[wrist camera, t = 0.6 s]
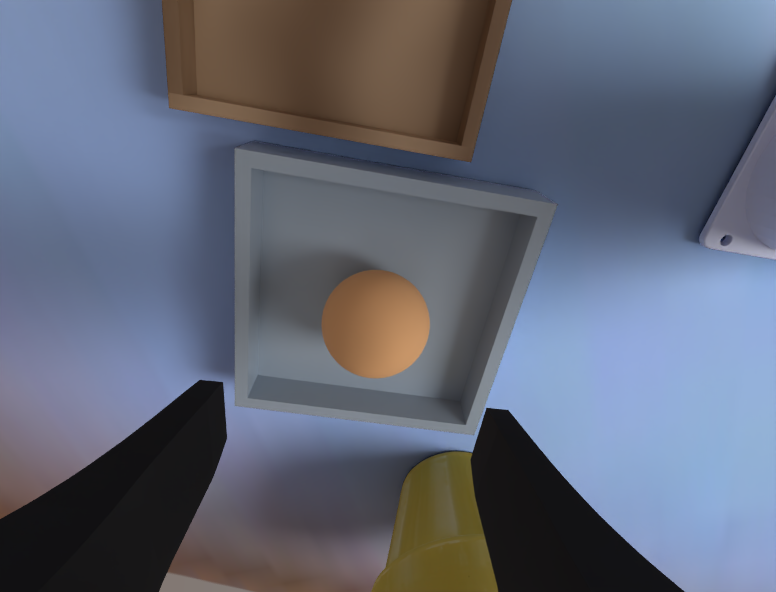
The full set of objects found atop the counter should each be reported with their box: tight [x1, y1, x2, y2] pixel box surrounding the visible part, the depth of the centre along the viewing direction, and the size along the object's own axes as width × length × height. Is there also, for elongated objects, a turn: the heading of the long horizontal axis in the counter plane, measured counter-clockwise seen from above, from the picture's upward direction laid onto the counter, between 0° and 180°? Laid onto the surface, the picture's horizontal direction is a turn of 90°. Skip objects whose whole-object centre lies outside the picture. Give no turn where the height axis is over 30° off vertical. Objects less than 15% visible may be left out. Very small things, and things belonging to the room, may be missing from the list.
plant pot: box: [372, 451, 498, 592], centre depth 22 cm, size 10×10×10 cm
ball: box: [321, 270, 430, 378], centre depth 17 cm, size 5×5×5 cm
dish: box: [235, 141, 558, 435], centre depth 19 cm, size 12×12×2 cm
